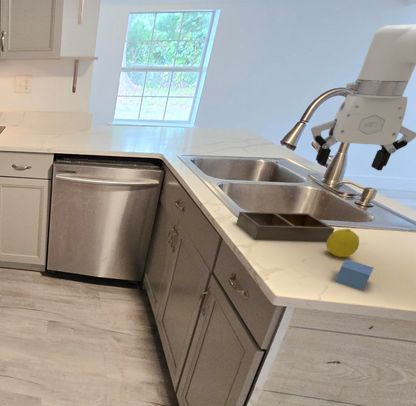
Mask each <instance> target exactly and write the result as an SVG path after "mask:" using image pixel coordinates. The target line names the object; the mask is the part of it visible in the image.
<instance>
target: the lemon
mask: <svg viewBox="0 0 416 406" xmlns="http://www.w3.org/2000/svg"><path fill="white" fill-rule="evenodd" d="M325 243H326V244H325V246H326V249H327V251H328V252H329V253H330V254H331V255H333V256H334V257H336V258H345V257H346V258H347V257H350V256H352V255H354V254H355V253H356V252H357V250H358V249H359V246H360V237H359V235H358V234H356V232H355V231H354V230H353V231H352V230H351V229H350V228H342V229H337V230H334V231H333V233H332V234H331V235H330V236H329V238H328V240H327V242H325Z"/></svg>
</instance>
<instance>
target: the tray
mask: <svg viewBox="0 0 416 406" xmlns="http://www.w3.org/2000/svg"><path fill="white" fill-rule="evenodd" d="M235 224H236V225H237V226H238V227H239V228H240V229H242V230H243V231H244V232H245V233H246V234H247V235H249V236H250V237H251V238H252V239H253V240H255V241H257V240H258V241H285V242H286V241H287V242H288V241H289V242H290V241H291V242H320V243H321V242H323V243H327V240H328V238H329V236H330V235H331V234H332V233H333V232H335V228H334V227H332V226H331V225H329V224H328V223H326V222H324V221H322V220H321V219H319V218H317V217H316V216H314V215H312V214H310V213H309V212H267V211H266V212H265V211H264V212H262V211H260V212H258V211H239V212H238V216H237V220H236V223H235Z"/></svg>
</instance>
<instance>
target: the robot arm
mask: <svg viewBox="0 0 416 406" xmlns="http://www.w3.org/2000/svg"><path fill="white" fill-rule="evenodd" d="M415 67H416V23H408V24H407V23H405V24H389V25H383V26H381V27H380V28H378V29H377V30H376V31H375V32H374V34H373V37H372V39H371V41H370V45H369V47H368V50H367V53H366V55H365V58H364V60H363V63H362V66H361V69H360V71H359V74H358V76H357V78H356V79H355V81H354V82H348V83H346V85H345V90H347V91H351V94H347V95H346V97H345V98H344V100H343V101H342V102H341V104H340V106H339V108H338V110H337V112H336V114H335V116H334V118H333V120H331V121H328V122H325V123H321V124H318V125H315V126H312V127H311V128H310V131H311V135H312V137H313V140H314V141H315V142H316V143H317V145H318V146H319V148H318V151H317V154H316V157H315V161H316V163H317V164H318V165H319V166H321V167H324V166H326V165H327V162H328V160H329V157H330V154H331V152H332V146H334V145H336V144H337V143H345V144H357V145H358V144H359V145H375V146H380V149H378V150H377V151H376V153H375V156H374V158H373V160H372V163H371V165H370V166H371V167H372V168H373V169H375V170H376V171H379V172H381V171H382V170H383V168H384V167H386V166H387V164H388V162H389V161H390V158H391V155H392V154H395V153H396V152H397V151H399V150H400V149H402V148H405V147H406V146H407V145H408V144H409V143H411V141H413V140H414V139H415V138H416V132H415V131H413V130H411V129H409V128H407V127H405V126H403V122H404V119H405V116H406V110H407V105H408V97H407V96H403V95H404V94H405V91H406V89H407V86H408V84H409V81H410V80H411V77H412V74H413V73H414V70H415ZM326 130H329V131H328V136H326V137H324V138H323V136H322V132H323V131H326ZM399 134H402V136H401V137H400V138H399V139H398V136H399Z"/></svg>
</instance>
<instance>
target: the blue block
mask: <svg viewBox="0 0 416 406" xmlns="http://www.w3.org/2000/svg"><path fill="white" fill-rule="evenodd" d="M374 268H375V267H373V266H370V265H367V264H363V263H361V262H357V261H353V260H350V259H347V258H346V259H345V260H344V261H343V262H342V264H341V266H340V268H339V270H338V273H337V275H336V278H335V279H334V282H335V283H339V284H342V285H344V286H348V287H351V288H353V289H355V290H360V291H362V292H363V291H364V289H365V287H366V285H367V283H368V281H369V279H370V277H371V274H372V272H373V271H374Z"/></svg>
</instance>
